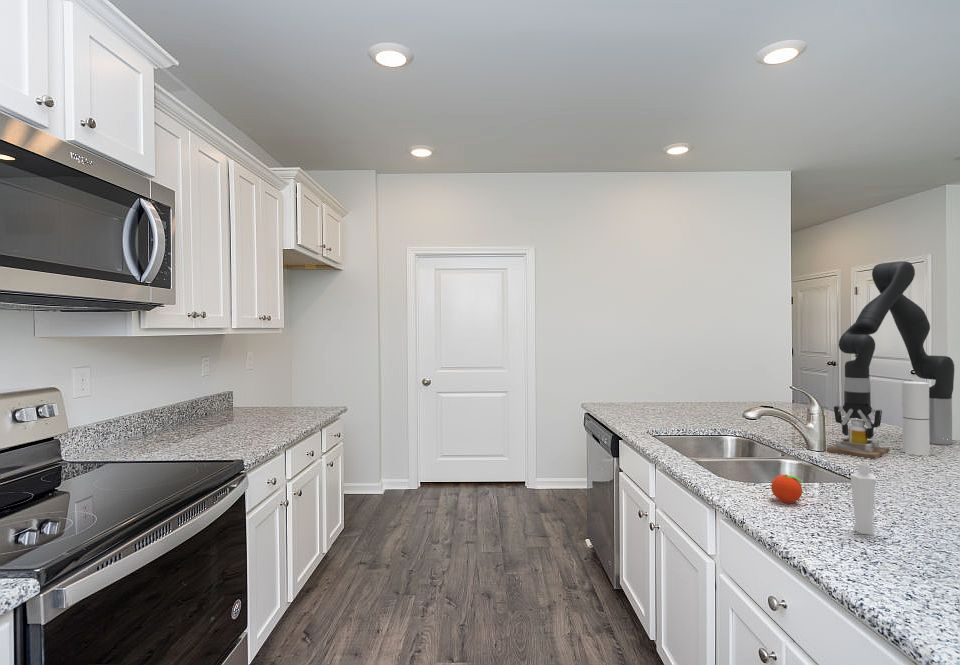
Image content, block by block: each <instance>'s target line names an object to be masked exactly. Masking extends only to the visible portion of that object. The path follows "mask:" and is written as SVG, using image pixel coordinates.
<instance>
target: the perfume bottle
mask: <svg viewBox="0 0 960 665" xmlns="http://www.w3.org/2000/svg"><path fill="white" fill-rule="evenodd" d="M857 465H858V471H857V472H854V473H851V474H850V483H851V491H852V493H851V494H852V501H853V502H852V504H853V514H854V515H853V516H854V525H853V529H852V530H853V531H855V532H857V533H859V534H863V535H871V536H873V535H875V529H874V526H873V519H874V506H875V490H876V476H875V475H874V474H872V473H870V470H869V469H870V463H865V462H857Z"/></svg>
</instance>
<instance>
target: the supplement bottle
mask: <svg viewBox="0 0 960 665" xmlns="http://www.w3.org/2000/svg"><path fill="white" fill-rule="evenodd" d="M850 420H851V421H850V424H851V425H850V426H848V437H849V442H852V443H859V444H867V440H868V439H867V428H868V427H865V426H866V423H865V422H864V421H863V420H862V419H850Z"/></svg>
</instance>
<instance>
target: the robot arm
mask: <svg viewBox="0 0 960 665" xmlns="http://www.w3.org/2000/svg"><path fill="white" fill-rule="evenodd" d="M915 275H916V270H915V267H914V265H913V264H912V263H911V262H909V261H906V260H903V261H901V260H900V261H891V262H881V263H878V264H876V265H874V267H873V268H872V271H871V277H872V280H873V284H874V285H875V287H876V289H877V290H878V292H879V293H880V294H879V295H878V296H877V295H876V297H875V298H873V299H872V300H870V301H869V302H868V303H867V304H866V305H864V307H863V308H862V310H860V311H861V312H860V313H859V314H858V317H857V319H856V320H855V322H854V323H853V324H852V325H851V326H850V327H849V328H848V329H846V330H845V332H844V333H843V334H842V335H841V336H840V338H839V341H838V348H839V350H840V351H841V352H842V353H845V354H847V355H848V354H849V355H856V357H855V359H853V360H848V361H846V362H845V364H844V380H843V392H844V393H843V394H844V396H843V398H844V399H843V402H844V404H843V405H835V406H834V407H833V411H834V418H835V419H834V420H835V423H836V424H837V423H838V424H841V433H842V434H843V435H844V436H845V437H849V422H851V421H850V420H852V419H856V420H862V421H864V422H865V426H867V427H866V428H867V440H870V439H872V438H873V437H874V435H875V434H874V432H875V431H874V429H875V428H878V427H880V426H881V422H882V415H883V411H882V409H875V408H874V409H873V407H872V406H871V381H870V365H871V362H872V359H873V356H874V353H875V351H876V341H875V339H874V338H873V337H872V336H871V335H873V334H876V333H877V332H878V330H879V329H880V327H881V325H882V323H883V321H884V319H885V317H886V316H887V314H888V313H889V312H890V314H891V316H892V319H893V321H894V324H895V325H896V328H897V330H898V332H899V335H900V336H901V338H902V341H903V343H904V346H905V348H906V350H907V354H908V357H909V360H910V364H911V366H912V370H913V371H914V374H915V375H916V377H918V378H919V379H925V380H935V382H934V384H933V385H932V386H929V443H930V444H932V445H947V446H948V445H952V444H953V392H954V381H955V363H954V361H953V359H952V358H951V357H950V356H947V355H930V354H929V355H928V354H927V353H926V351H925V347H924V343H925V341H926V339H927V337H928V336H929V333H930V332H931V331H930V330H931V324H930V322H929V320H928V317H927V314H926V313H925V311H924V310H923V309H922V307H921V306H919V305H918V304H917V303H915V302H914V301H913V300H911V299H909V298H908V297H907V296H905V295H904V293H905V291H906V290H907V289H908V288H909V286H910V285H911V284H912V282H913V281H914V279H915ZM843 411H844V412H845V413H846V414H845V416H844V417H842V412H843ZM871 413H872V415H873V416H874V420H873V421H872V419H871V417H870V414H871ZM842 418H843V419H842ZM943 438H944V439H943ZM947 439H948V440H947Z"/></svg>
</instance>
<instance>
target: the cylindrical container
mask: <svg viewBox="0 0 960 665" xmlns="http://www.w3.org/2000/svg"><path fill="white" fill-rule="evenodd" d="M929 387H930V383H929V382H924V381H902V382H901V392H902V393H901V395H902V396H901V398H902V399H901V400H902V401H901V402H902V403H901V404H902V405H901V406H902V407H901V408H902V409H901V410H902V412H901V413H902V414H901V416H902V420H901V422H902V453H903V452H905V453H908V454H907V455H909V454H914V455H913V456H915V455H929V456H930V452H931V451H930V444H931V443H929ZM905 453H904V454H905Z"/></svg>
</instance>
